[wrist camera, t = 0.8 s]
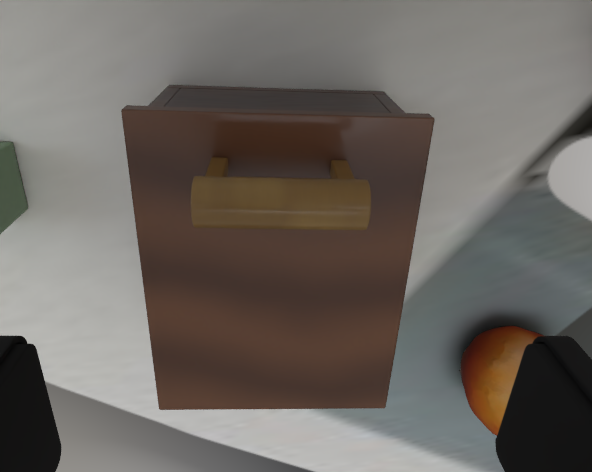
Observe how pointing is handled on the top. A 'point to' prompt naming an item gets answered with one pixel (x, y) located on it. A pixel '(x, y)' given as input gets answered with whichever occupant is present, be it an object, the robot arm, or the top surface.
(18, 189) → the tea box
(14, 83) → the top surface
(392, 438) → the top surface
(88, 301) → the top surface
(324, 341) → the lid
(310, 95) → the box
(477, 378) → the fruit
